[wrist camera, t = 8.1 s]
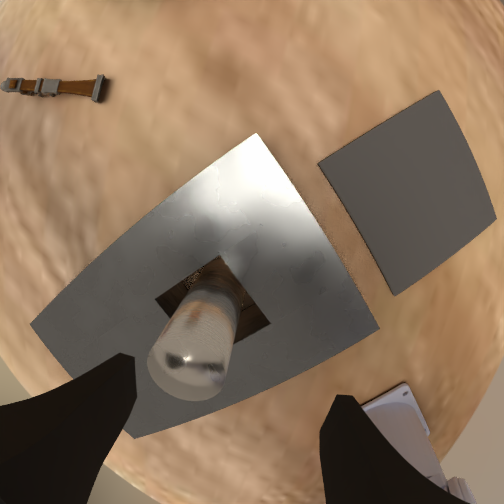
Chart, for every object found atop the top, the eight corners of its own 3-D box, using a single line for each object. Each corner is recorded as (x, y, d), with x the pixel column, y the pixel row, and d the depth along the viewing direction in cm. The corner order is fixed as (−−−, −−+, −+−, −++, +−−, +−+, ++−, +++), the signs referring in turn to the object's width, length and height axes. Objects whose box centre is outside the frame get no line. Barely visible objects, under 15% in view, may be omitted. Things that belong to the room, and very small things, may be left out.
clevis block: (362, 299, 19) (379, 328, 16) (149, 407, 24) (134, 438, 20) (260, 140, 17) (256, 132, 13) (58, 302, 21) (29, 324, 17)
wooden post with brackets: (21, 80, 16) (-1, 71, 12) (110, 85, 19) (102, 73, 15) (16, 102, 16) (-7, 97, 12) (104, 107, 19) (95, 100, 15)
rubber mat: (493, 218, 17) (496, 219, 17) (392, 294, 19) (394, 296, 19) (436, 91, 15) (439, 89, 15) (317, 163, 17) (318, 163, 17)
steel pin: (255, 290, 20) (240, 388, 11) (215, 308, 20) (176, 407, 11) (232, 250, 19) (195, 326, 10) (192, 270, 20) (132, 353, 10)
